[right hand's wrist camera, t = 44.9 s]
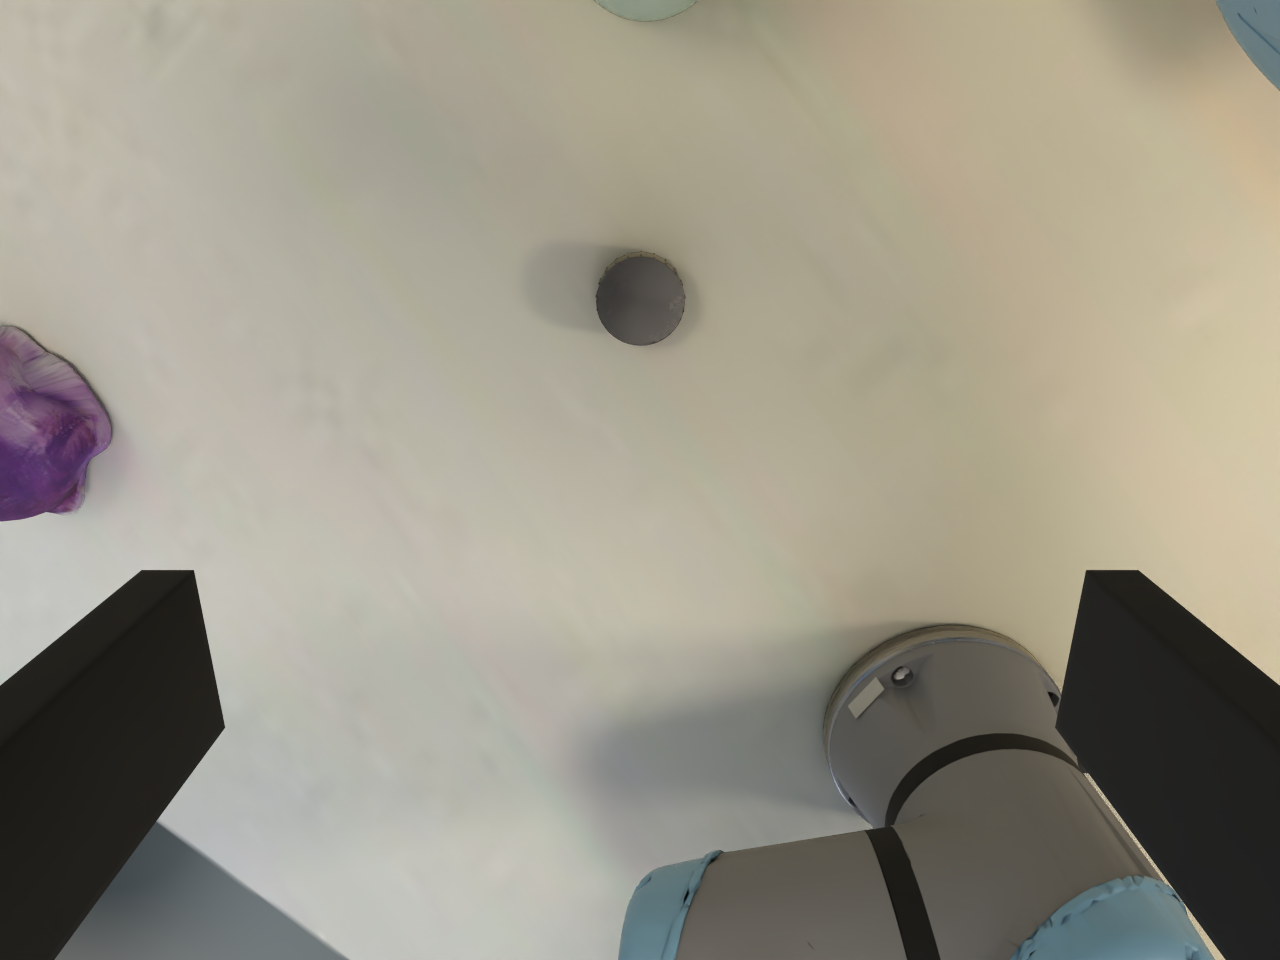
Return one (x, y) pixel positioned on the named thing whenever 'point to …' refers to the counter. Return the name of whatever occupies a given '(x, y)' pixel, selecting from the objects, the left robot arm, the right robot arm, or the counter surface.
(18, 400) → the figurine
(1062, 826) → the right robot arm
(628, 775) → the counter surface
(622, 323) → the cap
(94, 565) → the counter surface
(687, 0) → the bottle
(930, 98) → the counter surface
